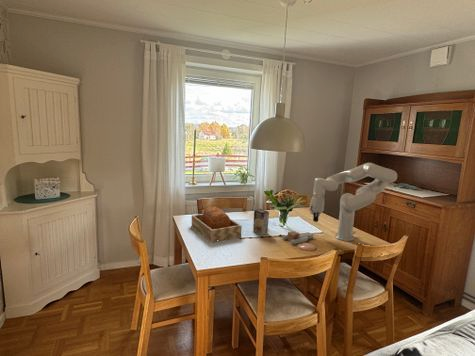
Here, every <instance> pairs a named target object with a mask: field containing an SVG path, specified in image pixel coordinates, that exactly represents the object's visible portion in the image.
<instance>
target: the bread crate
mask: <svg viewBox="0 0 475 356" xmlns="http://www.w3.org/2000/svg"><path fill="white" fill-rule="evenodd" d="M203 214H204V213H201V214H200V213H198V214H194V215H193V214H192V215H191V227H192V226H193V227H192V228H193V229H194V230H196V231H197V232H198V233H199V234H201V236H203V235H204V236H205V237H204V236H203V237H204V238H206V240H208V239H209V240H210V241H211V242H210V241H209V240H208V241H209V242H210V243H213V242H212V241H216V242H218V241H217V240H222V241H224V240H223V239H227V240H231V239H230V238H232V239H237V238H240V237H239V236H241V237H242V230H243V229H242V227H243V226H242V225H241V224H240V223H238V222H236V221H235V220H233V219H231V218H230V219H229V221H230V227H226V228H220V229H214V230H212V229H211V228H210V227H208V226H207V225H206V224H204V223H203V222H202V216H203ZM236 237H237V238H236Z"/></svg>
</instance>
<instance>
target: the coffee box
mask: <svg viewBox="0 0 475 356" xmlns="http://www.w3.org/2000/svg"><path fill="white" fill-rule="evenodd" d="M269 215H270V212H269V211H268V210H265V209H262V208H257V209H255V210H254V211H253V225H252V227H253V229H252V231H253V232H254V233H256V234H258V233H259V234H258V235H261V234H262V236H264V235H266V234H268V233H269V231H268V230H269V219H270V218H269ZM263 234H264V235H263Z"/></svg>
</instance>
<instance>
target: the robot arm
mask: <svg viewBox="0 0 475 356" xmlns="http://www.w3.org/2000/svg"><path fill="white" fill-rule="evenodd" d="M367 177H369V178H372V179H374V180H373V181H372V182H370V183H367V184H365V185H363V186H361V187H359V188H357V190H356V191H355V195H354V194H352V193H349V192H345V193H344V194H342V195H341V197H340V200H339V217H338V224H337V225H338V227H337V233H335V234H334V237H335V238H336V239H338V240H340V241H345V242H352V241H354V240H355V236H354V235H356V233H357V231H356V230H354V221H355V215H356V214H355V213H356V212H355V211H358V210H360V209H362V208H365V207H366V206H369V205H370V204H373V203H374V201H375V200H376V197H377V195H378V194H380V193H382V192H383V191H385V189H386V188H387V186H388V184H392V183H394V182H396V181H397V179H398V173H397V171H395V170H394V169H390V168H386V167H384V166H381V165H378V164H375V163H373V162H366V163H362V164H360V165H359V166H355V167H354V168H352V169H348V170H345V171H342V172H339V173H335V174H333V175H330V176H328V177H326V179H325V178H322V177H315V179H314V183H313V189H312V190H313V191H312V192H313V193H312V197H311V199H310V203H309V211H310V215H312V221H313V222H315V223H318V222H319V217H320V215H321V214H322V213H323V212H324V211H325V210H324V208H325V192H326V190H327V191H331V192H333V191H336V190H337V189H338V188H339V185H341V184H344V183H354V182H357V181H359V180H362V179H365V178H367Z"/></svg>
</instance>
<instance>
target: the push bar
mask: <svg viewBox="0 0 475 356" xmlns="http://www.w3.org/2000/svg"><path fill="white" fill-rule="evenodd" d="M299 234H300V238H304V237H308V240H310V239H311V240H312V239H314V234H313V233H311V232H309V231H308V232H302V233H299Z"/></svg>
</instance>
